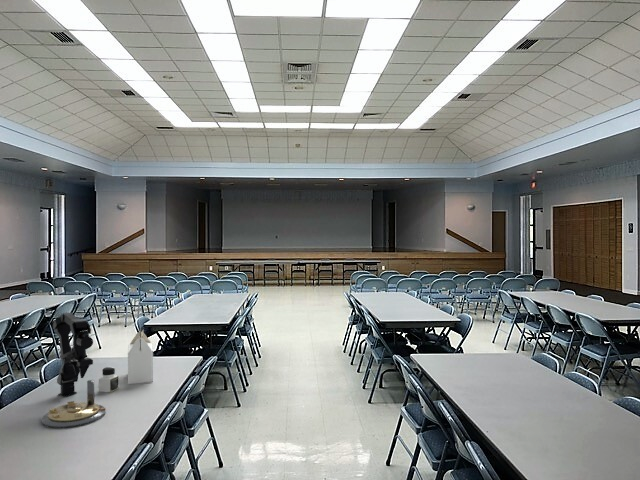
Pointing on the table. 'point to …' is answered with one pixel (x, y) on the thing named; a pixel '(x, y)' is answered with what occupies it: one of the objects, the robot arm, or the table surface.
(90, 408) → the gold wheel with handle
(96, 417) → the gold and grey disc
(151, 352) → the gable box
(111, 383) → the medicine bottle
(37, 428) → the table surface
